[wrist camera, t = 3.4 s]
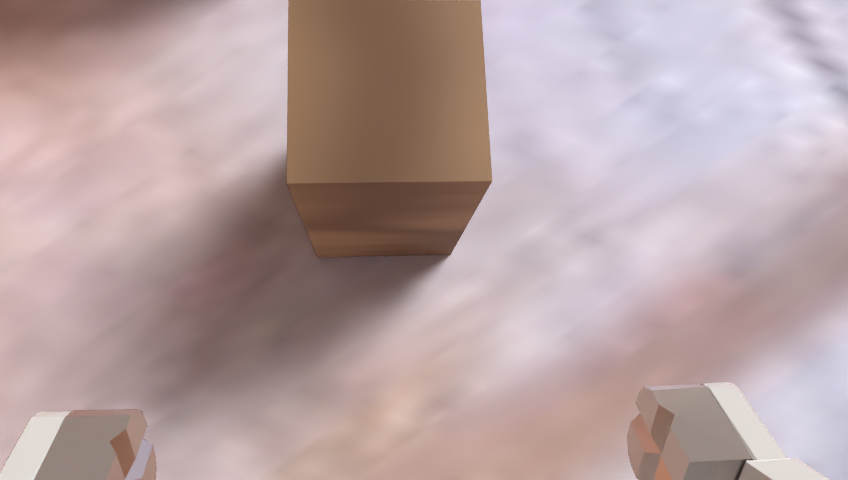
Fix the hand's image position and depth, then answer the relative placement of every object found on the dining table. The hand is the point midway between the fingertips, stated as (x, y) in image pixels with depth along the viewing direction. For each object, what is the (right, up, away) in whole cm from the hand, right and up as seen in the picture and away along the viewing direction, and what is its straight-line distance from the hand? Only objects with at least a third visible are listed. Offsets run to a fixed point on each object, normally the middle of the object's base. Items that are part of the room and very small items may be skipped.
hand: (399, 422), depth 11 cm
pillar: (-1, +5, +12) cm, 13 cm away
